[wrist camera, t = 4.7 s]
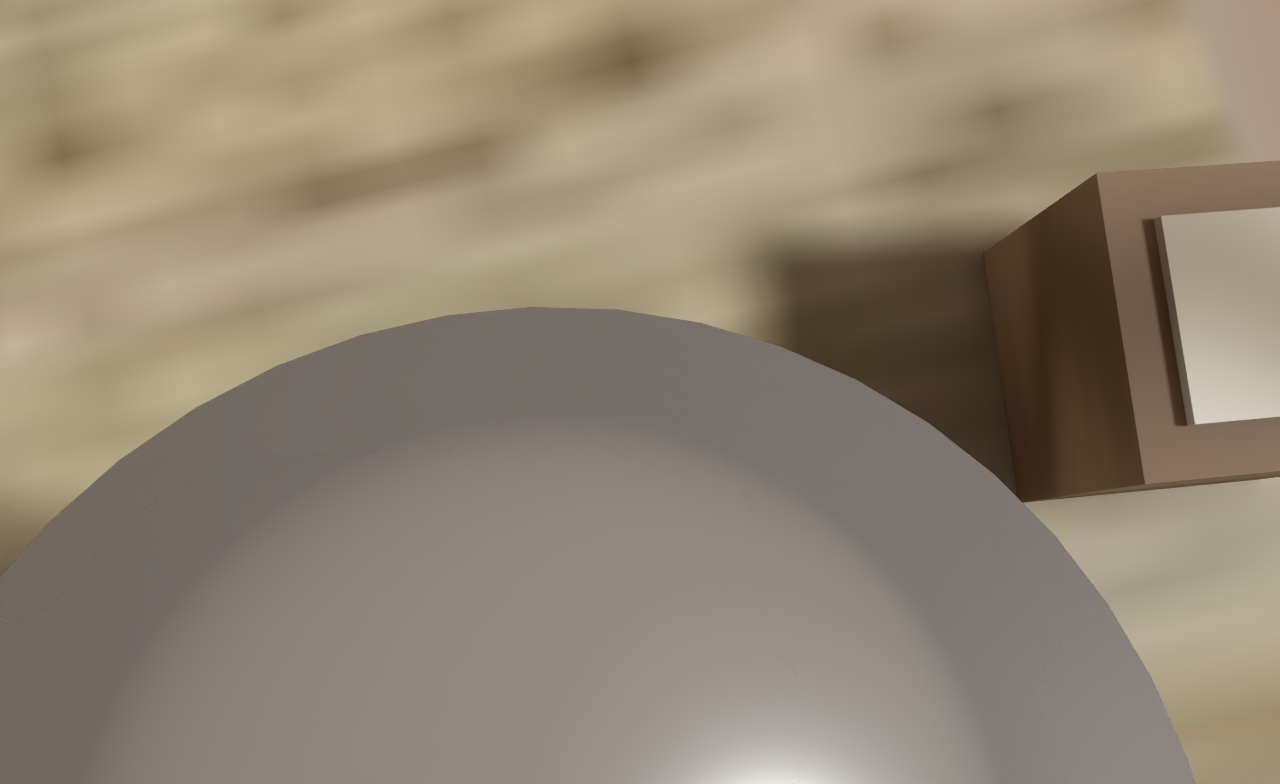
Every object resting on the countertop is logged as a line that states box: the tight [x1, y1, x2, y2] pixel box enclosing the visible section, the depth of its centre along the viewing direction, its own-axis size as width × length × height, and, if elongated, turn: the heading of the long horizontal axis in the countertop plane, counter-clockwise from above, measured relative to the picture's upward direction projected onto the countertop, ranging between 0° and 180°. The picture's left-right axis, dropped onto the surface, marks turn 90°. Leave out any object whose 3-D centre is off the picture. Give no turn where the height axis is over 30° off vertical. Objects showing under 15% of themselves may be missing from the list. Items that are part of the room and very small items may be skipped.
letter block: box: [983, 161, 1280, 502], centre depth 20 cm, size 4×4×5 cm
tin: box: [0, 307, 1195, 784], centre depth 10 cm, size 5×5×12 cm
